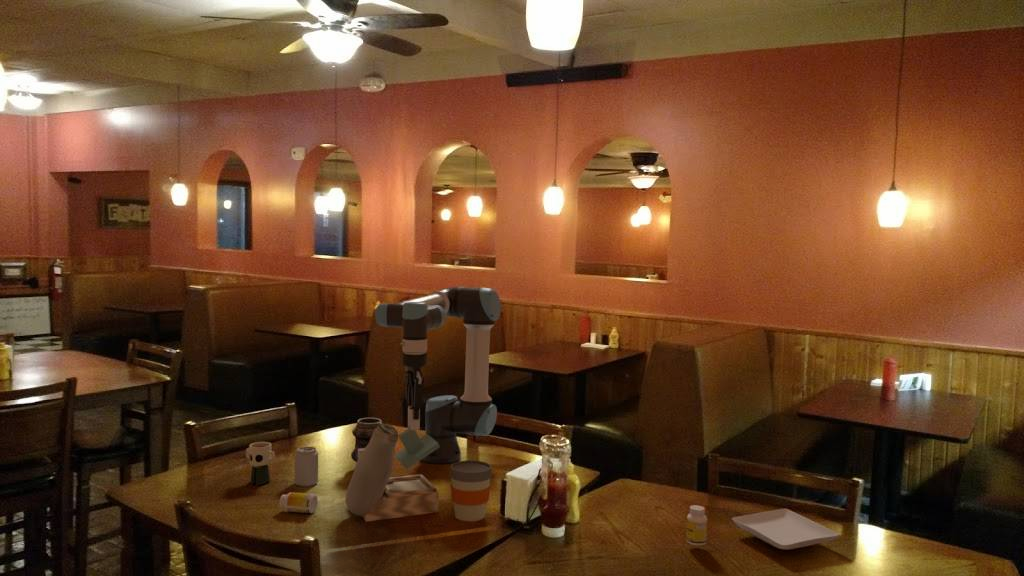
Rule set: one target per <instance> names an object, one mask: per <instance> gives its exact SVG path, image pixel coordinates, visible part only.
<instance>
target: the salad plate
mask: <svg viewBox="0 0 1024 576" xmlns="http://www.w3.org/2000/svg"><path fill="white" fill-rule="evenodd" d="M731 521H733V523H734V524H735V525H736V526H738V527H740V528H741V529H742V530H744V531H747V532H748V533H749V534H751V535H752V536H754V537H756V538H758V539H760V540H762V541H764V542H765V543H767V544H769V545H771V546H773V547H775V548H777V549H780V550H795V549H799V548H804V547H809V546H813V545H817V544H821V543H822V544H823V543H827V542H831V541H832V540H833V541H834V540H835V539H837V538H838V537H839V536H840V534H839V533H838V532H836V531H835V530H832V529H830V528H828V527H826V526H823V525H822V524H820V523H818V522H816V521H813V520H811V519H810V518H807V517H805V516H804V515H801V514H798V512H794V511H792V510H790V509H788V508H779V509H774V510H773V509H772V510H768V511H762V512H757V513H751V514H745V515H739V516H734V517H732V518H731Z"/></svg>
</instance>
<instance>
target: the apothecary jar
mask: <svg viewBox="0 0 1024 576" xmlns="http://www.w3.org/2000/svg"><path fill="white" fill-rule="evenodd" d="M380 424H383V422H382V420H381V419H380V418H377V417H363V418H359V419H358V420H357V421H356V425H355V426H354V427H352V431H351V433H352V435H353V437H354V438H355V444H354V449H352V451H351V454H350V458H351V459H352V460H353V461H354V462H356V463H357V461H358V449H360V448H366V446H367V445H368V444H369V442H370V440H371V437H372V434H373V431H374V430H375V428H376V427H377V426H378V425H380Z"/></svg>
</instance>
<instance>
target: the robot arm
mask: <svg viewBox="0 0 1024 576" xmlns="http://www.w3.org/2000/svg"><path fill="white" fill-rule="evenodd" d="M501 311H502V305H501V300H500V296H499V294H498V292H497V291H496V290H495V289H494V288H489V287H488V288H487V287H484V286H482V287H479V286H478V287H477V286H476V287H475V286H474V287H473V286H451V287H447V288H446V287H445V288H441V289H438V290H433V291H431V292H430V293H429V294H428V295H425V296H421V297H416V298H412V299H407V300H404V301H401V302H395V303H389V302H387V303H385V302H384V303H383V302H382V303H379V304H378V305H377V307H376V309H375V312H374V313H375V321H376V323H377V324H378V325H379V326H381V327H385V328H386V327H387V328H388V327H389V328H392V327H393V328H402V342H400V346H402V348H401V349H402V351H403V353H402V354H401V365H402V366H403V367H407V370H404V374H405V375H404V377H405V402H406V404H407V429H409V428H410V427H411V428H410V430H415V431H417V430H418V431H419V430H420V429H421V427H420V426H421V424H420V423H421V409H422V408H423V403H424V402H423V400H424V399H423V398H424V382H425V377H423V372H422V367H425V366H427V364H428V361H427V360H428V354H427V351H428V331H430V330H436V329H438V328H440V327H442V326H444V324H445V323H446V320H447V317H449V318H456V319H462V325H463V326H464V327H465V329H466V337H465V338H466V340H465V341H466V342H465V343H466V345H465V367H464V369H465V371H464V393H463V395H462V396H460V398H459V399H458V396H456V395H450V394H449V395H448V394H447V395H440V396H439V395H438V396H435V397H434V396H433V397H431V398H428V400H427V401H426V405H425V411H424V412H425V434H424V435H426V434H428V435H429V436H430V437H431V438H433V439H434V440H435V441H436V442H437V443H438V444H439V446H440V447H439V448H438V449H436V450H435V451H433V452H432V453H430V454H429V455H427V456H426V457H424V458H423V459H421V460H420V461H423V462H425V463H430V464H437V465H438V464H439V465H440V464H443V465H444V464H450V463H451V464H453V463H456V462H459V461H461V459H462V457H461V455H462V452H461V448H460V445H459V442H458V438H457V434H465V435H471V436H476V437H477V436H483V437H487V436H488V435H490V433H492V432H493V429H494V427H495V426H496V425H495V424H496V421H497V418H498V417H497V416H498V409H497V406H496V404H494V403H492V402H493V401H492V400H493V398H492V397H491V396H490V395H489V371H490V370H489V369H490V368H489V366H490V346H491V345H490V343H491V342H490V341H491V330H492V328H493V327H494V326H495V322H496V321H498V320H499V319H500V317H501V313H502V312H501Z"/></svg>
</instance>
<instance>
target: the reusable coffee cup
mask: <svg viewBox="0 0 1024 576" xmlns="http://www.w3.org/2000/svg"><path fill="white" fill-rule="evenodd" d="M492 476H493V472H492V466H491V464H490V463H488V462H485V461H480V460H471V459H470V460H458V461H456V462H453V463H451V466H450V471H449V478H450V481H451V483H450V485H449V486H450V494H451V501H452V502H453V509H454V510H453V511H454V518H456V519H458V520H459V521H462V522H478V521H481V520H483V519H485V517H486V511H487V505H488V502H489V500H490V494H491V493H490V492H491V487H492V486H491V485H492V484H491V479H492Z"/></svg>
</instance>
